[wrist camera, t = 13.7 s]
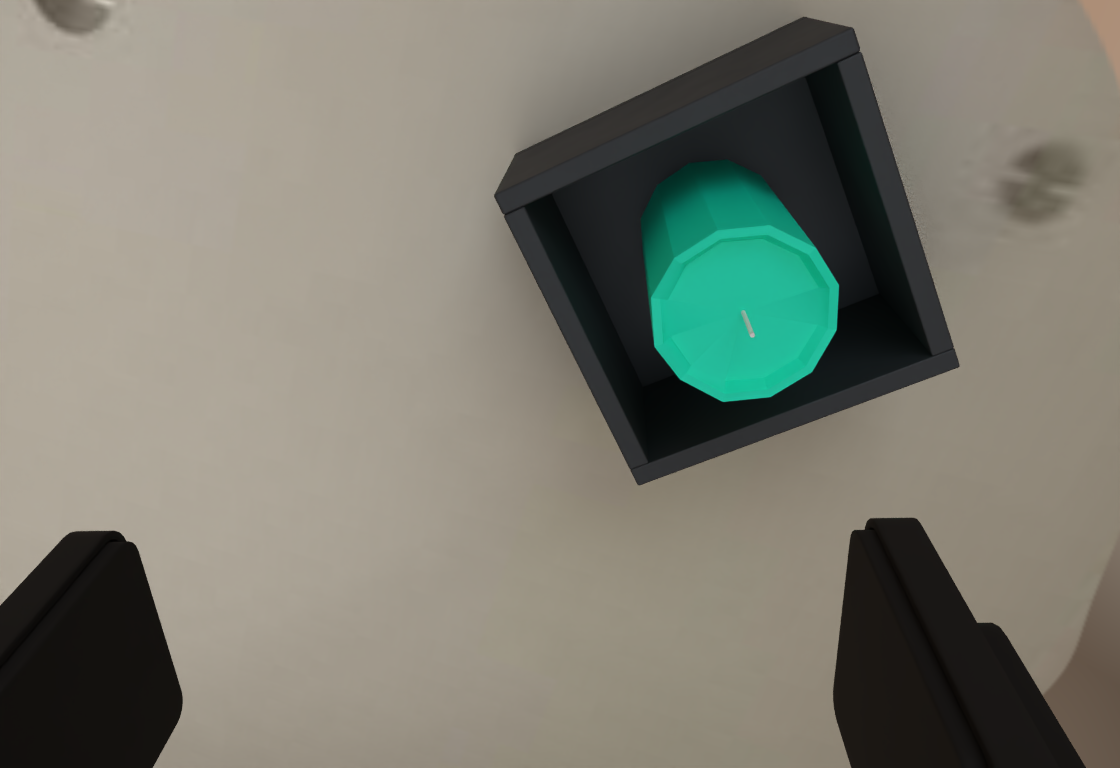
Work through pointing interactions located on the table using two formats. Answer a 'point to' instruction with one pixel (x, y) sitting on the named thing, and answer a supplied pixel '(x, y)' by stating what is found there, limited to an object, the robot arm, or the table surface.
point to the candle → (734, 283)
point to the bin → (799, 183)
